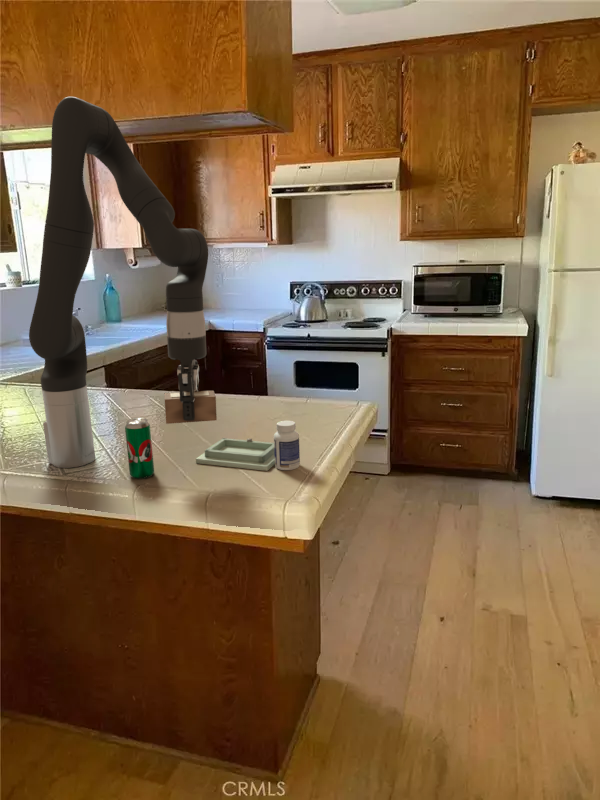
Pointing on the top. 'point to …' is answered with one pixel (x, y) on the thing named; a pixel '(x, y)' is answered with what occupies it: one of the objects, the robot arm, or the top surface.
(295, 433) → the pill bottle
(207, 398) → the brown block
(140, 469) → the soda can
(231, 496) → the top surface
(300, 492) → the top surface
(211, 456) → the pale green tray
